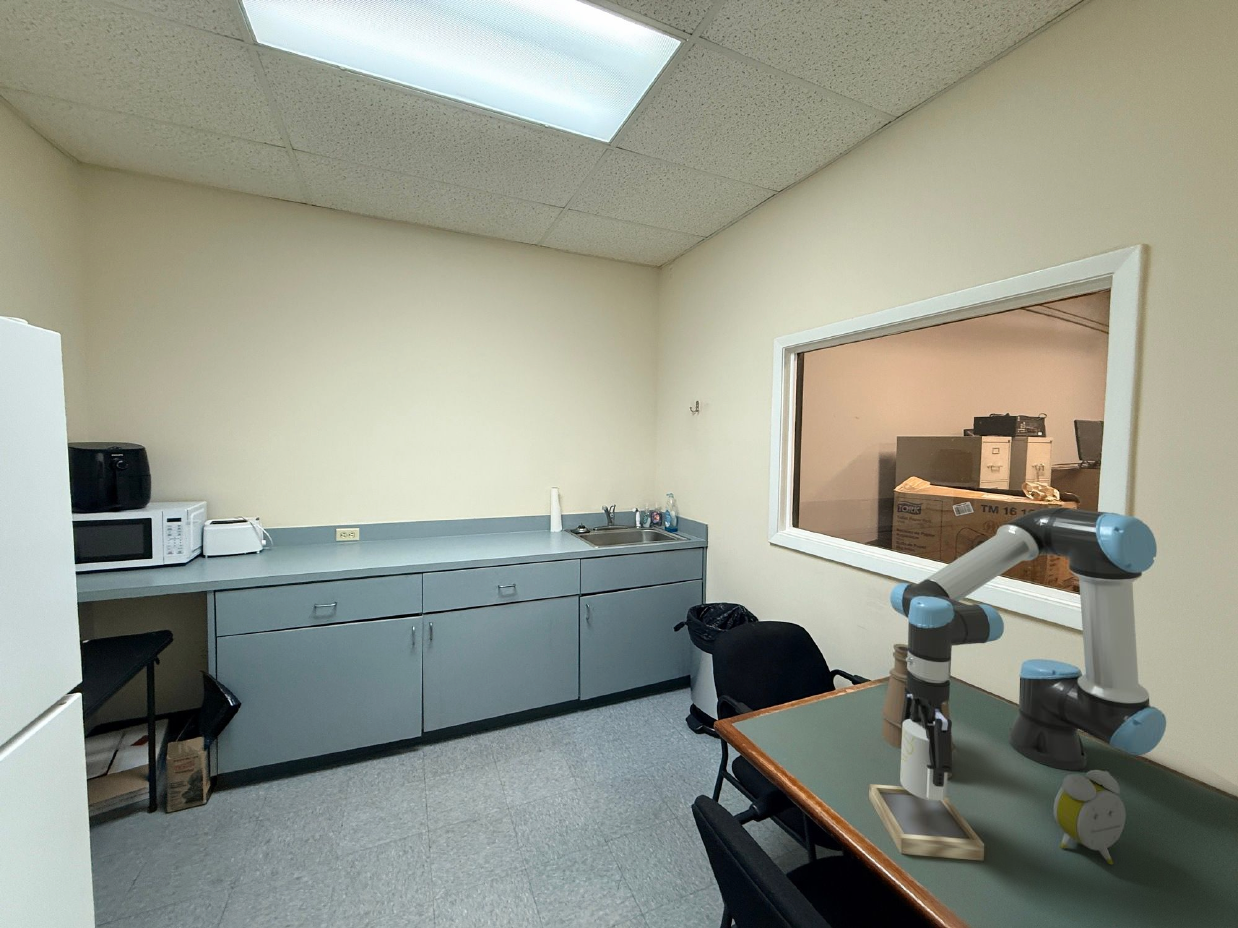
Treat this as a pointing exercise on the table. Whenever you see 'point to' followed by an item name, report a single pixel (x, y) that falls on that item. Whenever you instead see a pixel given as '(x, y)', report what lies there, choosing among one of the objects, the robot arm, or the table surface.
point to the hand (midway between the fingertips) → (923, 782)
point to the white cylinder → (916, 760)
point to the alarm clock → (1090, 811)
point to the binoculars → (900, 701)
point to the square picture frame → (925, 824)
